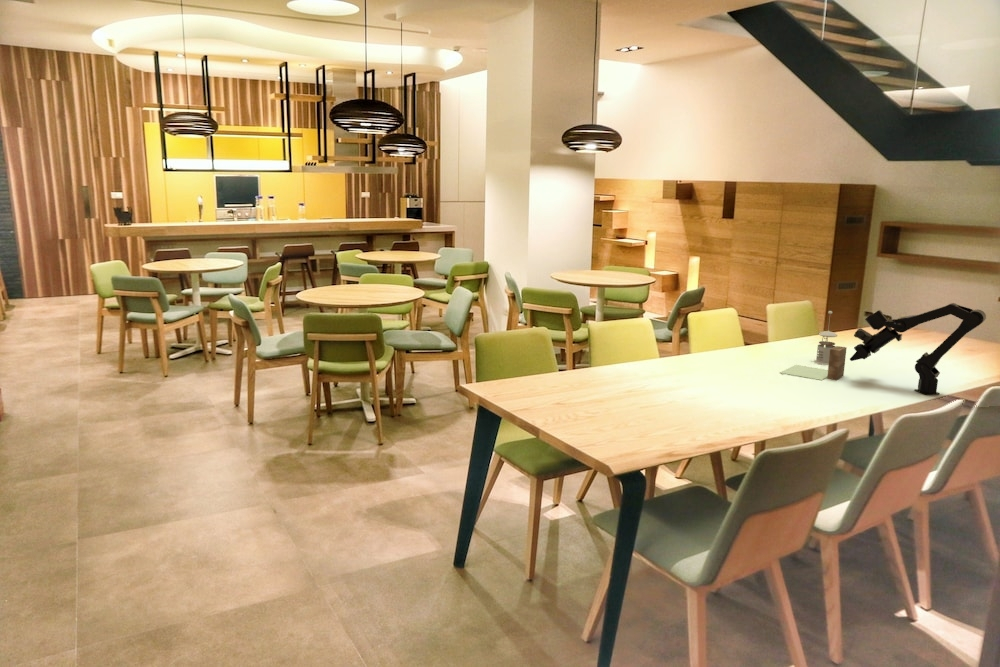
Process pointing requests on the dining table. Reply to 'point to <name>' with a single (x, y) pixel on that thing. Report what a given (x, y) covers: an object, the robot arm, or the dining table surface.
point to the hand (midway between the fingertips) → (850, 359)
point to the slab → (836, 362)
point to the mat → (806, 372)
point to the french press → (825, 351)
